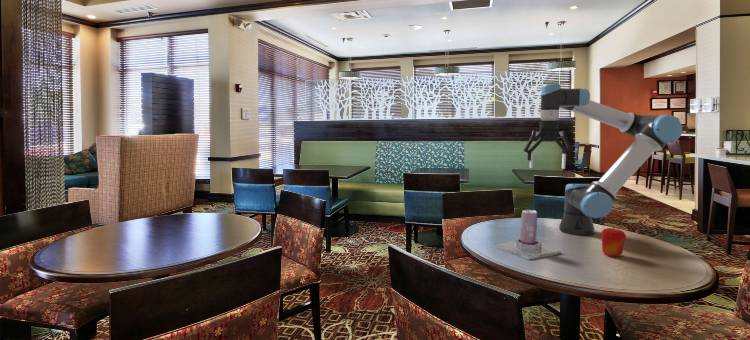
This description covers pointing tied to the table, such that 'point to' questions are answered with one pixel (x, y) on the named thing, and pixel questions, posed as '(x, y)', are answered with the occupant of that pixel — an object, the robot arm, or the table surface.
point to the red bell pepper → (613, 241)
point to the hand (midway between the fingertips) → (547, 168)
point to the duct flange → (528, 249)
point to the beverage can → (528, 227)
